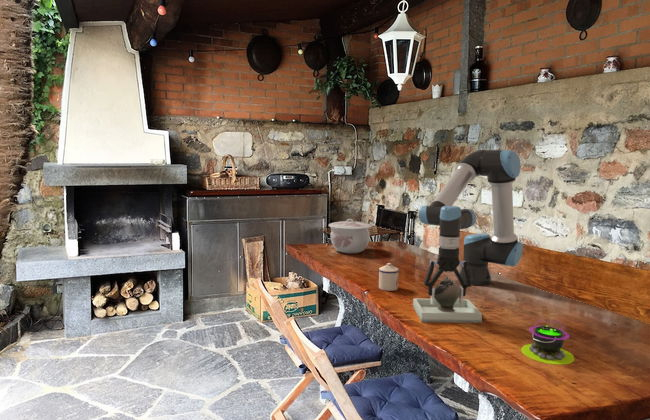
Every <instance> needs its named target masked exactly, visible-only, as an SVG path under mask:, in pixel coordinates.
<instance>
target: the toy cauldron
mask: <svg viewBox="0 0 650 420" xmlns="http://www.w3.org/2000/svg"><path fill="white" fill-rule="evenodd" d="M541 319H542V322H545V320H544V319H545V318H544V317H542V318H541ZM549 319H552V318H549ZM538 322H539V320H537V321H536V322H535V325H533V326H530V327H529V329H528V330H529V332H530V333H531V337H532V339H533V343H529V344H525V345H522V347H521V353H522V354H523V355H524V356H526V357H527V358H529V359H531V360H533V361H536V362H539V363H544V364H548V365H555V366H556V365H559V366H560V365H561V366H563V365H569V364H572V363H573V362H574V361H575V356H574V355H573V353H572V352H570V351H568V350H566V349H563V347H564V343H565V340H567V339H568V338H570V334H569V333H568V332H566V331H564V330H563V328H558V327H552V326H548V325H537V323H538ZM548 323H552V321H549V320H548ZM553 323H555V324H556V326H557V325H558V320H556V321H553ZM559 325H560V326H562V324H560V323H559ZM564 335H565V336H564Z"/></svg>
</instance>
